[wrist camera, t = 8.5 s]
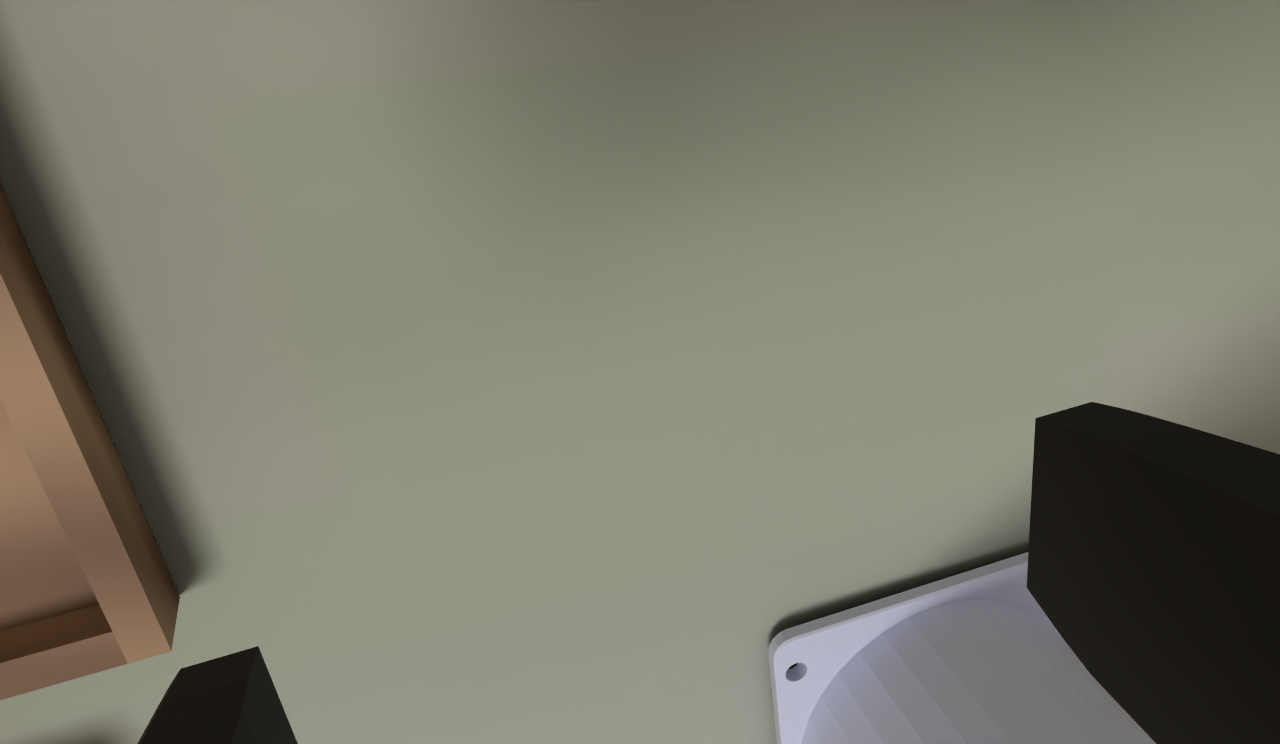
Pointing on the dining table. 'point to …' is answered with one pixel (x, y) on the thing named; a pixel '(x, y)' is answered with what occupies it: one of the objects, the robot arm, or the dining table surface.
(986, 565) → the robot arm
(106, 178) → the dining table surface
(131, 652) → the tray
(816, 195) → the dining table surface
